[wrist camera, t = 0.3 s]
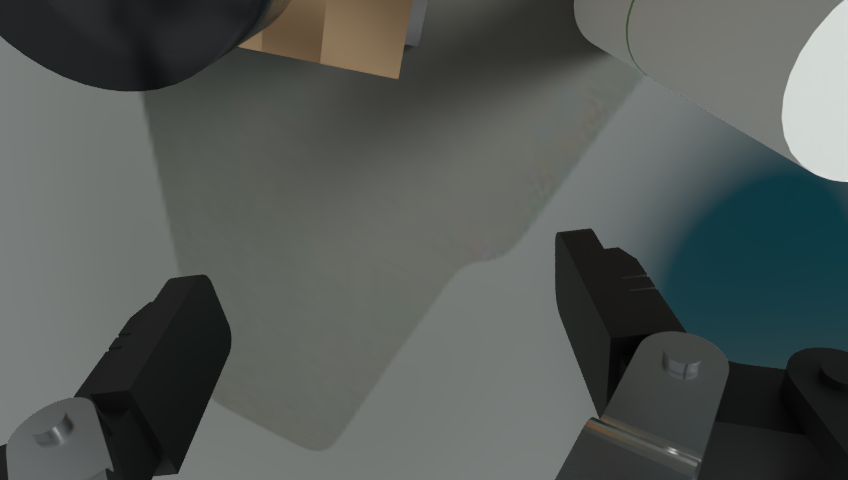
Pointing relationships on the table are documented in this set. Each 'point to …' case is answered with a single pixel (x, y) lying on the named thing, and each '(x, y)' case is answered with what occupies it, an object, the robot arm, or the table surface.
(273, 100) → the table surface
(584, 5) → the cylindrical container
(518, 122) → the table surface
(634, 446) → the robot arm
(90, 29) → the plunger
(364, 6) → the box
